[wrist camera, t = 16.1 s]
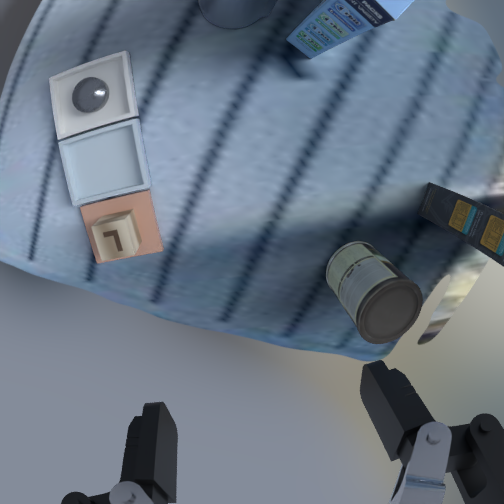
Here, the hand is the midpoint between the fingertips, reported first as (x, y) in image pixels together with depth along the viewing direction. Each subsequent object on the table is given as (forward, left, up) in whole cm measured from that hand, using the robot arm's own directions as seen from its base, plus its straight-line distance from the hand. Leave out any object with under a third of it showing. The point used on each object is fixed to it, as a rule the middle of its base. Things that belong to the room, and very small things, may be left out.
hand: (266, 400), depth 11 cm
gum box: (-20, -26, -36) cm, 49 cm away
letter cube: (+16, +2, -35) cm, 39 cm away
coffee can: (-19, +16, -36) cm, 44 cm away
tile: (+16, +2, -36) cm, 40 cm away
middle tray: (+16, -8, -36) cm, 40 cm away
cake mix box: (-43, +10, -36) cm, 57 cm away
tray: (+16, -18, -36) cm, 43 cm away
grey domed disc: (+16, -18, -36) cm, 43 cm away
